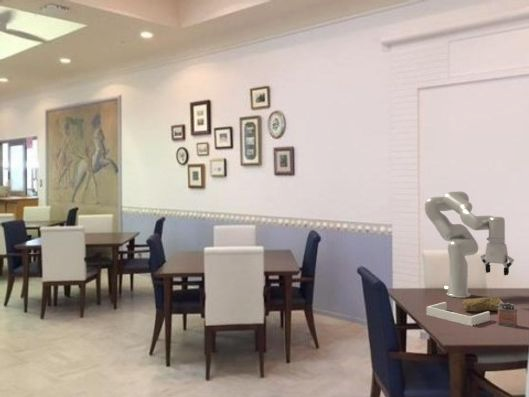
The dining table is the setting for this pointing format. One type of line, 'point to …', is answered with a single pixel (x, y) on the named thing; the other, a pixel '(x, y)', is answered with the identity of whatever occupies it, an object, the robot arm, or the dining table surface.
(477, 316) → the box
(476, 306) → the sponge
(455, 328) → the dining table surface
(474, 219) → the robot arm
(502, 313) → the lighter
